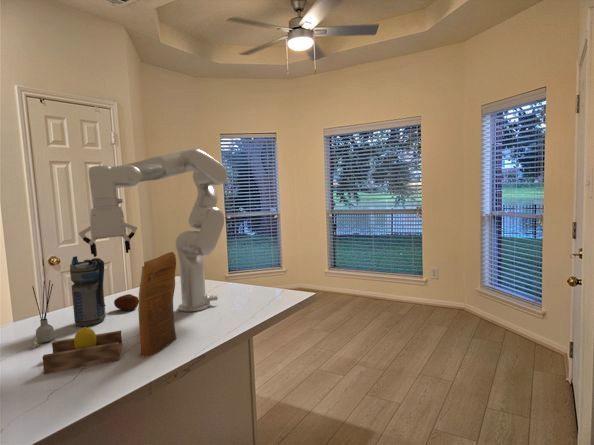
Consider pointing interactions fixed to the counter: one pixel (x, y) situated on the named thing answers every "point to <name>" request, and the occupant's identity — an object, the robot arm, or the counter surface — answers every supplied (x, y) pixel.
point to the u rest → (83, 353)
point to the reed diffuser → (43, 324)
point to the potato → (126, 302)
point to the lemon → (85, 338)
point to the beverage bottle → (88, 291)
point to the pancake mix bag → (157, 304)
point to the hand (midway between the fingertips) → (111, 254)
